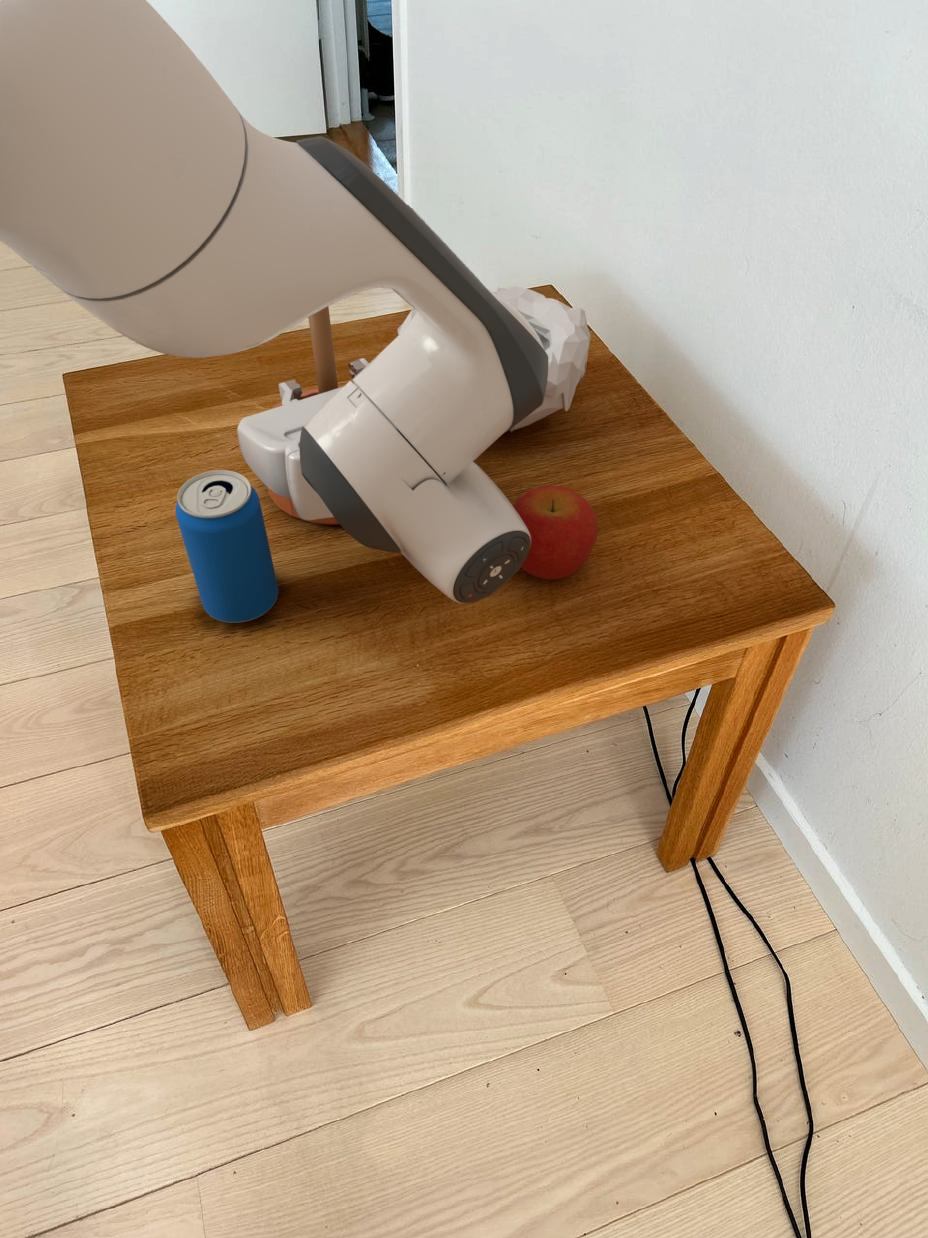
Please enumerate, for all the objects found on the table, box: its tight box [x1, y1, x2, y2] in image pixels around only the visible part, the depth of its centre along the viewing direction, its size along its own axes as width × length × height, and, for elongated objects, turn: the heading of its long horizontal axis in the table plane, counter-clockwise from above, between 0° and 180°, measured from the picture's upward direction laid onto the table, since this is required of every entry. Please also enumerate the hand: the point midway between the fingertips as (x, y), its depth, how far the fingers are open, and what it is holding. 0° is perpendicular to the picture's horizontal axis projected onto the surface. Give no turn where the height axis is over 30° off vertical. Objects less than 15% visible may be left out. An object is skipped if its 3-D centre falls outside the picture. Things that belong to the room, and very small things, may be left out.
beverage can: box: [175, 469, 279, 624], centre depth 76 cm, size 6×6×12 cm
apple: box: [512, 485, 599, 580], centre depth 80 cm, size 8×8×8 cm
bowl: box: [396, 286, 592, 433], centre depth 97 cm, size 21×20×10 cm
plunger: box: [307, 306, 339, 394], centre depth 84 cm, size 6×6×20 cm
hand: (321, 377), depth 84 cm, fingers open, 5 cm apart
